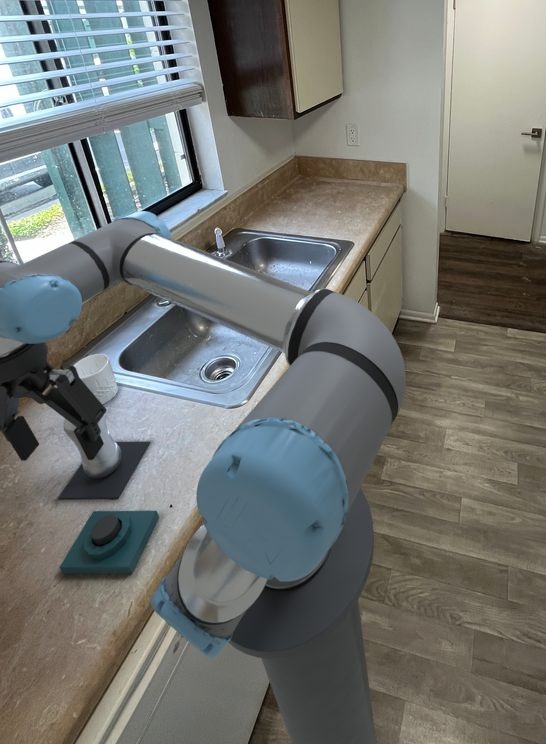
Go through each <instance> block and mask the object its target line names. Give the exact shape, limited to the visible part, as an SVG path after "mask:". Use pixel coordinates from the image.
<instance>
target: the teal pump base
mask: <svg viewBox="0 0 546 744" xmlns="http://www.w3.org/2000/svg"><path fill="white" fill-rule="evenodd" d="M110 514H112V515H115V516H116V517H117V519H118V521H119V523H120V525H121V528H120V531H119V533H118V535H117V536H116V538H115V539H114V540H112V541H111V542H110V543H108V544H106V545H103V546H99V545H96V544H95V542H94V540H93V539H92V537H91V530H92V528H93V526H94V524H95V523H96V522H97V521H98V520H99V519H101V518H102V517H104V516H106V515H110ZM159 519H160V516H159V513H158V511H157V510H92V512H91V514H90V516H89V517H88V519H87V521H86V522H85V524H84V526H83V527H82V529H81V531H80V532H79V534H78V536H77V537H76V539H75V540H74V542H73V544H72V545H71V547H70V548H69V551H68V552H67V553H66V555H65V557H64V558H63V560H62V562H61V563H60V565H59V567H58V568H59V570H60V572H61V573H62V574H63V575H133V574H134V572H135V570H136V567H137V565H138V564H139V561H140V559H141V557H142V555H143V553H144V551H145V548H146V547H147V544H148V542H149V540H150V538H151V536H152V534H153V531H154V529H155V528H156V525H157V523H158V522H159Z"/></svg>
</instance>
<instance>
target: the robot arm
mask: <svg viewBox="0 0 546 744" xmlns="http://www.w3.org/2000/svg"><path fill="white" fill-rule="evenodd" d="M2 252H3V249H2V248H0V432H1V433H2V435H3V436H4V438H5V439H6V441H7V442H9V443H10V445H11V447H12V448H13V450H14V451H15V454H16V455H17V456H18V458H19V459H20V461H21V462H23V461H27V460H29V458H30V457H31V456H32V454H33V453H34V452H35V450H37V448H38V446H40V442H39V441H38V439H37V437H36V436H35V434H34V432H33V430H32V428H31V427H30V425H29V423H28V422H27V420H26V418H25V416H24V415H18V414H19V413H21V410H18V409H19V404H20V400H21V399H22V398H27V399H28V398H29V399H32V400H33V401H34V402H36V403H37V404H39V405H43V404H45V405H46V406H48V407H49V408H51V409H52V410H53V411H54V412H56V413H57V414H58V415H60V416H61V417H63V418H64V420H65V419H67V420H68V421H69V422H70V423H72V424H73V425H74V426H76V429H75V430H74V433H75V435H76V437H77V439H78V441H79V443H80V445H81V447H82V449H83V451H84V453H85V455H86V457H87V459H88V460H93V459H94V458H95V456H96V455H97V453H98V452H99V450H100V449H101V447H102V446H103V445H104V442H103V440H102V438H101V436H100V433H101V430H100V427H99V425H98V422H99V421H100V420H101V418H102V417H103V416H104V415H105V414H106V413H107V409H106V407H105V406H104V404H101V403H100V401H99V400H98V399H97V398H96V397H95V395H94V394H93V393H92V392H91V391H90V389H89V388H88V387H87V386H86V385H85V384H84V382H83V381H82V380H81V379H80V378H79V375H78V373H77V370H76V368H75V367H74V365H71V364H70V365H67V366H66V368H64V369H55V367H54V366H53V365H52V364H51V363H50V362H49V361H48V351H49V349H48V345H47V343H46V342H50V341H53V340H55V339H57V338H59V337H60V336H62V335H64V334H65V333H66V332H67V331H68V330H69V329H70V327H71V326H72V325H73V324H74V322H75V321H76V320H77V319H78V318H79V316H80V314H81V311H82V308H83V304H84V303H86V302H87V301H89V300H91V299H92V298H94V297H95V296H97V295H99V294H100V293H102V292H104V291H106V290H107V289H109V288H110V287H112V286H114V285H116V284H117V283H119V282H124V283H126V284H128V285H130V286H133V287H136V288H138V289H140V290H142V291H143V292H146V293H149V294H151V295H153V296H155V297H158V298H160V299H162V300H165V301H167V302H169V303H171V304H173V305H176V306H177V307H180V308H181V309H184V310H187V311H189V312H191V313H194V314H195V315H197V316H200V317H202V318H205V319H207V320H209V321H212V322H213V323H216V324H218V325H220V326H222V327H225V328H227V329H229V330H231V331H234V332H236V333H238V334H240V335H242V336H245V337H248V338H250V339H251V340H254V341H256V342H257V343H260V344H263V345H265V346H267V347H269V348H272V349H274V350H276V351H278V352H280V353H283V354H284V357H285V361H286V363H287V366H289V367H288V368H287V369H286V370H285V372H284V373H283V374H282V375H281V376H280V377H279V378H278V380H277V381H276V382H275V383H274V384H273V385H272V386H271V388H270V389H269V390H268V391H267V392H266V393H265V395H263V397H262V398H261V399H260V400H259V401H258V403H256V405H255V406H254V407H253V408H252V409H251V410H250V412H249V413H248V414H247V415H246V417H244V419H243V420H242V421H241V422H240V423H239V424H238V426H237V427H236V428H235V429H234V430H233V431H232V432H231V433H230V434H229V435H227V436H226V437H225V438H224V439H223V440H222V441H221V442H220V443H219V445H218V447H217V448H216V450H215V451H214V453H213V455H212V457H211V458H210V461H208V463H207V465H206V466H205V467H204V469H203V471H202V473H201V475H200V476H199V479H198V483H197V488H196V497H195V498H196V506H197V510H198V511H197V512H198V514H199V515H200V516H201V517H203V523H202V525H200V527H199V528H198V529H197V530H196V531H195V532H194V534H193V535H192V537H191V538H190V540H189V541H188V543H187V545H186V547H185V549H184V551H183V553H182V555H181V556H180V558H179V559H178V561H177V562H176V563H175V564H174V566H173V567H172V569H171V570H170V571H169V573H167V575H165V576H164V577H163V578H162V580H161V581H160V583H159V586H158V587H157V589H156V590H155V591H154V593H153V595H152V597H151V601H150V606H151V608H152V610H153V611H154V613H156V614H157V615H158V616H159V617H160V618H161V619H162V620H163V621H165V622H166V624H168V626H170V627H171V628H172V630H174V631H175V632H177V634H179V635H180V636H181V637H182V638H184V639H185V640H186V641H187V642H188V643H189V644H191V645H192V646H193V648H195V649H197V650H198V651H199V652H200V653H201V654H202V655H204V656H205V657H206V658H209V659H215V658H217V657H218V656H220V654H221V653H222V652H223V650H224V648H225V647H226V646H227V643H228V642H229V641H230V640H231V638H232V636H233V632H234V630H235V628H236V627H237V625H238V623H239V621H240V620H241V618H242V616H243V615H244V613H245V612H246V610H247V609H248V608H249V607H250V606H251V605H252V604H253V603H254V602H255V601H256V599H257V598H258V597H259V595H260V593H261V592H262V590H263V588H264V587H265V588H267V589H269V590H272V591H289V590H293V589H296V588H298V587H300V586H302V585H304V584H305V583H307V582H308V581H309V580H311V579H312V578H313V577H314V576H315V575H316V574H317V573H318V572H319V571H320V569H321V568H322V566H323V565H324V563H325V562H326V560H327V558H328V556H329V553H330V550H331V547H332V545H333V544H334V542H335V541H336V539H337V538H338V536H339V534H340V532H341V530H342V528H343V525H344V521H345V518H346V516H347V514H348V512H349V510H350V508H351V506H352V504H353V502H354V500H355V498H356V495H357V493H358V491H359V489H360V488H361V487H362V486H363V483H364V481H365V479H366V477H367V475H368V473H369V471H370V469H371V467H372V466H373V463H374V462H375V460H376V457H377V455H378V453H379V451H380V449H381V447H382V445H383V443H384V441H385V438H386V437H387V435H388V434H389V431H390V429H391V427H392V425H393V422H394V421H395V420H396V418H397V416H398V414H399V412H400V411H401V408H402V405H403V402H404V399H405V396H406V395H405V394H406V385H407V375H406V364H405V361H404V357H403V355H402V352H401V349H400V347H399V345H398V342H397V341H396V339H395V338H394V336H393V334H392V333H391V331H390V330H389V328H388V326H386V324H384V323H383V321H382V320H380V318H379V317H378V316H377V315H376V314H374V313H373V312H372V311H371V310H369V309H368V308H367V307H365V306H364V305H362V304H361V303H360V302H358V301H356V300H354V299H352V298H351V297H349V296H347V295H344V294H342V293H340V292H336V291H335V290H331V289H329V288H325V287H321V288H318V289H317V290H314V291H311V290H307V289H304V288H302V287H300V286H296V285H294V284H292V283H288V282H286V281H283V280H280V279H278V278H275V277H273V276H270V275H267V274H266V273H263V272H260V271H257V270H254V269H252V268H249V267H247V266H244V265H242V264H239V263H236V262H234V261H231V260H228V259H226V258H223V257H221V256H218V255H215V254H213V253H210V252H207V251H205V250H202V249H200V248H197V247H195V246H192V245H189V244H186V243H184V242H181V241H178V240H177V239H173V238H172V233H171V231H170V229H169V227H168V226H167V224H166V223H165V222H164V220H160V219H159V218H158V216H157V215H156V214H155V213H152V212H151V211H145V210H140V211H136V212H133V213H131V214H129V215H128V214H127V215H126V216H123V217H118V218H116V219H115V220H113V221H111V222H110V223H108V224H106V225H104V226H102V227H99V228H97V229H95V230H93V231H91V232H89V233H87V234H84V235H83V236H80V237H78V238H76V239H73V240H72V241H70V242H68V243H65V244H63V245H60V246H59V247H56V248H54V249H52V250H50V251H48V252H46V253H43V254H41V255H38V256H37V257H34V258H32V259H30V260H28V261H26V262H24V263H21V264H20V263H19V264H18V263H16V262H14V261H13V262H12V261H9V260H7V259H5V257H4V255H3V254H2ZM49 386H50V387H49ZM47 389H48V390H47ZM46 390H47V391H46ZM45 391H46V392H45ZM44 392H45V393H44ZM43 393H44V394H43ZM82 418H83V419H82Z"/></svg>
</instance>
